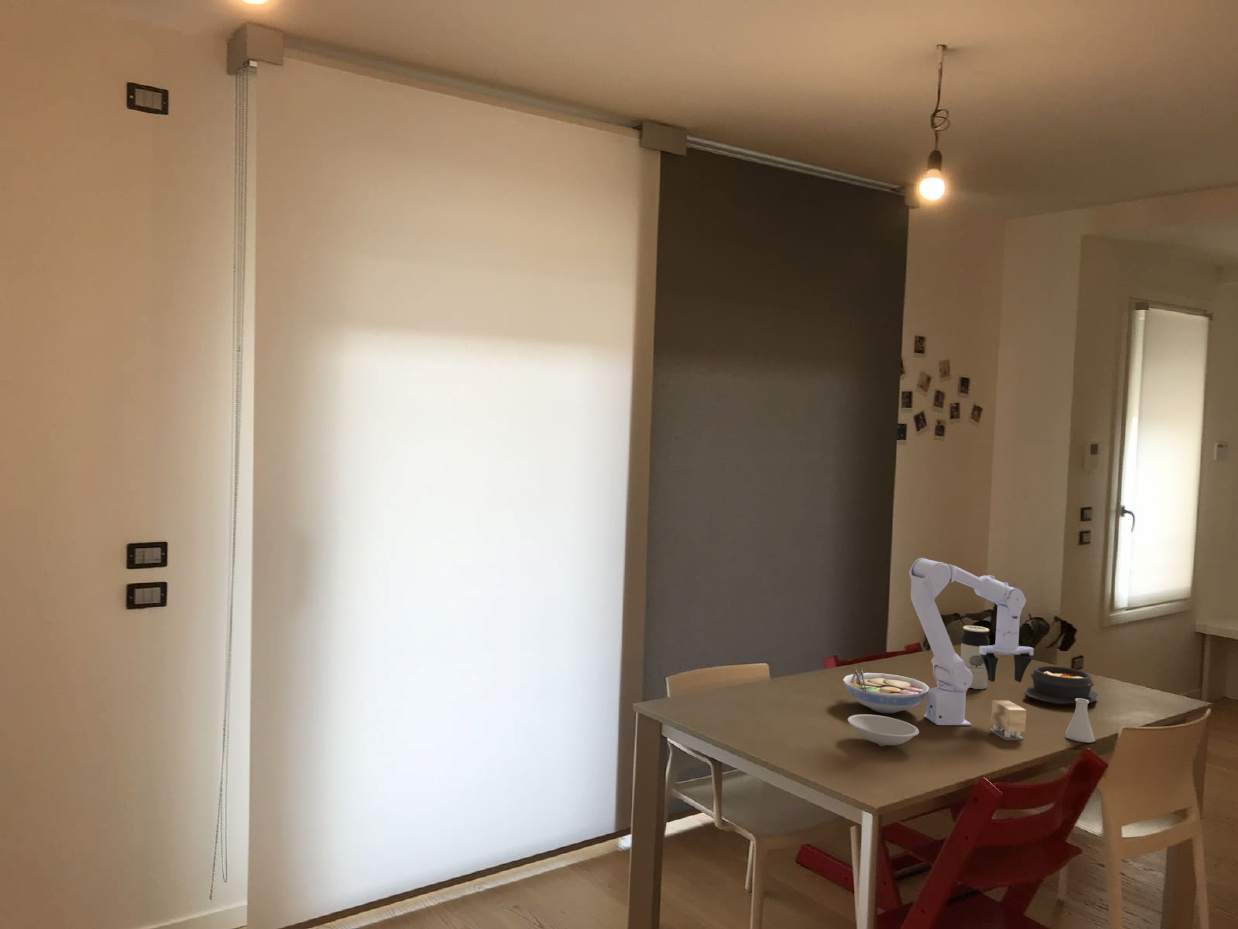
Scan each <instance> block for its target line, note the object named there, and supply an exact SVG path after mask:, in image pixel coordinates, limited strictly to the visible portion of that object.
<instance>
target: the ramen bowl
mask: <svg viewBox="0 0 1238 929" xmlns="http://www.w3.org/2000/svg"><path fill="white" fill-rule="evenodd" d="M853 671H854V673H853V674H848V675H845V677H843V679H842V681H843V684H844V686H845V688H846V689H847V691H848V693H849V694H850V695H851V696H852V697H853V698H854V700H855V701H857V702H858V703H859V704H861V705H863V706H865V707H867V708H870V709H871V710H872V711H874V712H877V713H882V714H896V713H898V712H901V711H907V710H909V709H911V708H914V707H916V706H917V705H919V703H921V702H922V700H923V699H924V698H925V697H926V696H927V692H928V690H929V689H930V686H928V685H927V684H926V683H925V682H923V681H920V680H918V679H915V678H913V677H911V678H910V677H906V676H902V675H897V674H889V673H883V672H882V673H881V672H880V673H879V672H864V670H863V667H859V672H860V673H859V672H858V670H857V667H856V666H854V667H853Z"/></svg>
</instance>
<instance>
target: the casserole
mask: <svg viewBox="0 0 1238 929" xmlns="http://www.w3.org/2000/svg"><path fill="white" fill-rule="evenodd" d="M1030 677H1031V678H1032V682H1033V685H1029V686H1028V687H1027V688H1026V691H1025V692H1023V694H1024V695H1025V696H1026V697H1027V698H1028V697H1029V698H1031V699H1033V700H1037V701H1042V702H1047V703H1051V704H1056V705H1063V704H1064V705H1063V706H1065V705H1066V706H1076V701H1075V699H1077V698H1080V699H1085V700H1088V701H1089V704H1090V703H1094V702H1096V701H1097V697H1098V695H1099V693H1097V692H1096V691H1094V690H1091V689H1092V687H1093V686H1094V685H1095V683H1094V681H1093V680H1092V677H1091V674H1089V673H1088V672H1085V671H1083V670H1079V669H1074V668H1070V667H1065V666H1064V667H1063V666H1057V665H1056V666H1053V665H1043V666H1042V665H1041V666H1036V667H1035V668H1034V669H1033V672H1032V673H1031V674H1030Z"/></svg>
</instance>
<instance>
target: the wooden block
mask: <svg viewBox="0 0 1238 929" xmlns="http://www.w3.org/2000/svg"><path fill="white" fill-rule="evenodd" d="M990 716H991V717H990V722H992V723H993V724H994V723H995V724H997V725H998V726H1000V728H1001V729H1005V730H1007V731H1008V732H1020V733H1022V732H1026V723H1027V709H1025V708H1023V707H1022V706H1020V705H1018V704H1016V703H1014V702H1012V701H1010V700H1009V699H1008V700H1005V699H1004V700H1003V699H1000V700H999V699H995V700H994V699H993V700H991V715H990Z"/></svg>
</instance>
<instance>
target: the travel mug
mask: <svg viewBox="0 0 1238 929" xmlns="http://www.w3.org/2000/svg"><path fill="white" fill-rule="evenodd" d="M962 629H963V634H962V636H961V640H960V641H961V642H960V643H961V644H960V658H961V659H962V660H963V661H964V664H965V666H966V667H967V668H968V669H969V670H970V671H971V672H972V675H973V681H972V684H971V686H970V687H969V688H973V689H972V690H979V689H980V690H985V689H986V688H988V675H987V670H986V667H985V664H984V661H983V659H982V657H981V654H980V653H979V646H990V641H991V640H990V638H989V636H988V634H989V632H990V629H989V628H987V627H984V626H978V625H964V626H963V627H962ZM969 688H968V689H969Z"/></svg>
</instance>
